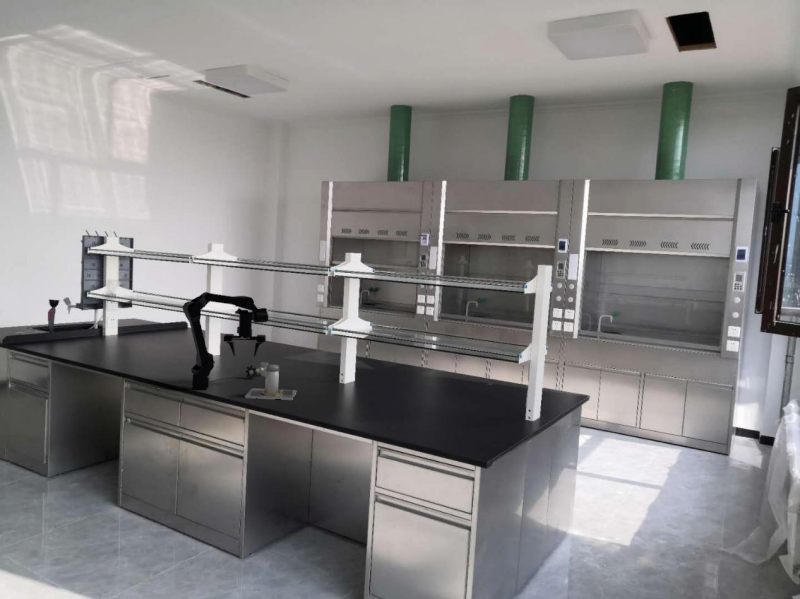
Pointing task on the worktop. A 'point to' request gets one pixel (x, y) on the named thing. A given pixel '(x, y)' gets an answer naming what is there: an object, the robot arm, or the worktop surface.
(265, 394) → the shaft mount
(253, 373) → the valve
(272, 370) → the domed cap cylinder
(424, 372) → the worktop surface
